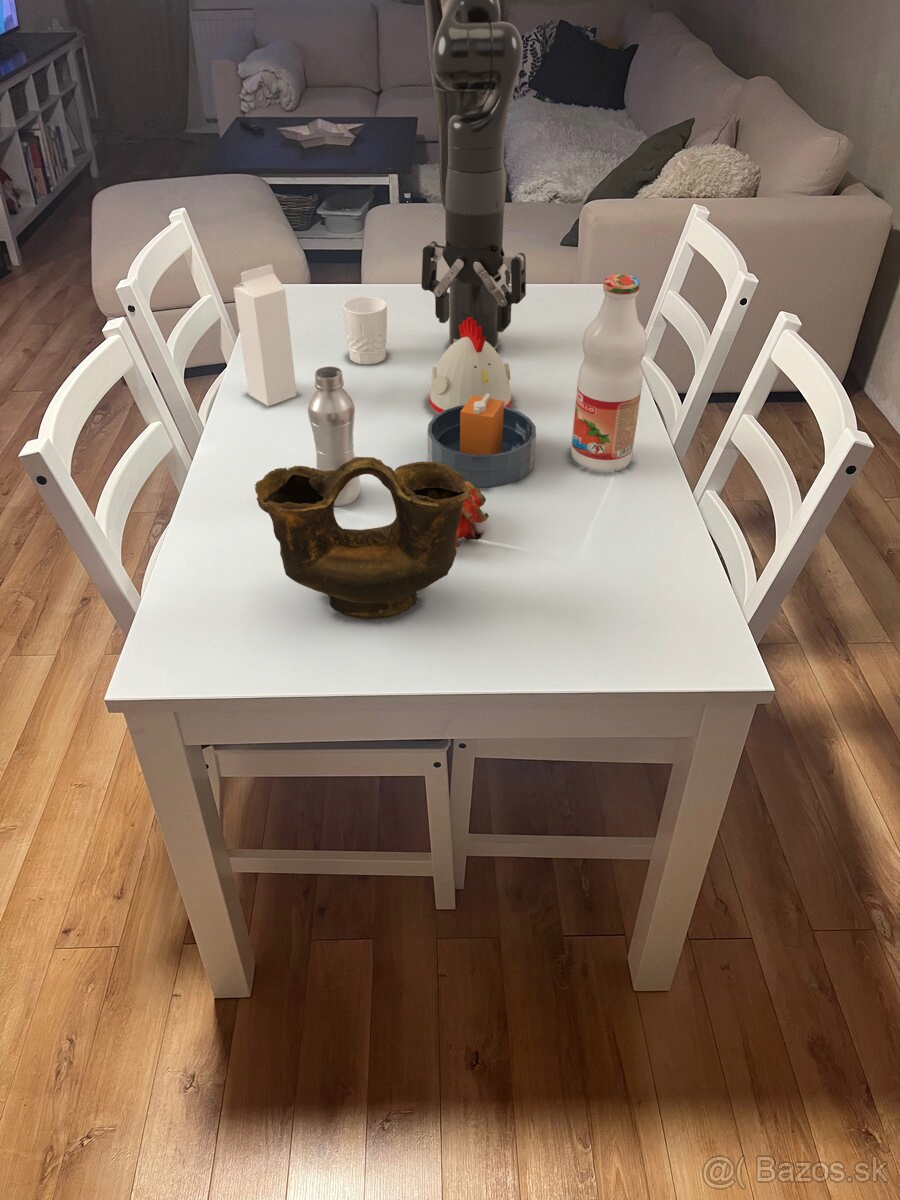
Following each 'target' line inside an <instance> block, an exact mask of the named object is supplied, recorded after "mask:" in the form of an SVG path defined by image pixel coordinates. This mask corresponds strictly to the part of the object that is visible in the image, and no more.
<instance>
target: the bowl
mask: <svg viewBox="0 0 900 1200" xmlns="http://www.w3.org/2000/svg"><path fill="white" fill-rule="evenodd" d="M464 406H465V405H461V406H457V407H453V408H450V409H447V410H444V411H443V412H441V413H439V412H438V414H436V415H434V416H433V417H432V419H431V420H430V421H429V422H428V424H427V425H428V426H427V462H439V463H441V464H445V465H447V466H448V467H449V468H451V469H452V470H454V471H456V472H458V473H459V474H460V475H461V476H464V477H465V479H464V480H465V481H469V482H471V483H472V484H473V486H475V487H477V488H493V487H494V488H495V487H500V486H505V485H509V484H512V483H514V482H517V481H519V480H521V479H523V478H524V477H525V476H527V475H529V473H530V472H531V470H532V469H533V467H534V465H535V456H536V455H535V454H536V442H537V426H536V425H535V423H534V422H533V421H532V419H531V418H530V417H529V416H527V415H525V414H524V413H522V412H521V411H519V410H516V409H513V408H510V407H509V408H508V407H504V414H503V436H502V453H498V454H491V455H483V454H469V453H464V452H460V412H461V410H462V409H463V408H464Z"/></svg>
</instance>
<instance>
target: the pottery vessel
mask: <svg viewBox="0 0 900 1200" xmlns="http://www.w3.org/2000/svg"><path fill="white" fill-rule="evenodd" d="M363 475H371V476H373V477H375V478H377V479H378V480H379V481H380V482H381V484H382V485H383V486H384V487H385V488H386V489H387V490H389V492H390V495H391V498H392V501H393V505H394V508H395V519H394V520H393V521H392V522H391V523H390V524H388V525H385V526H379V527H372V528H364V529H355V528H343V527H341V525H339V524H338V521H337V519H336V517H335V510H334V509H335V506H334V502H335V500H336V499H337V497H338V495H339V493H340V492H341V491H342V490H343V488H344V487H345V486H346V484H347V483H348V482H349V481H350V480H351V479H353V478H355V477H358V476H359V477H360V476H363ZM464 479H465V477H464V476H461V475H460V474H459V473H458V472H456V471H454V470H452V469H451V468H449V467H448V466H447V465H445V464H441V463H439V462H428V461H416V462H410V463H407V464H403V465H399V466H398V467H396V468H395V469H393V468H392V467H391V466H388V465H386V464H385V463H384V462H383V461H382V459H377V458H375V457H374V456H373V457H372V456H355V458H353V459H351V460H350V461H348V462H346V463H344V464H342V465H341V466H340V467H339V468H338V469H337V470H331V471H322V470H318V469H317V468H315V467H310V466H307V465H306V466H305V465H294V466H291V467H284V468H282V467H279V468H274V469H273V470H270V471H268V473H267V474H264V476H263V478H262V479H260V480H257V481H256V483H255V484H254V490H255V493H256V498H255V499H256V501H257V504H258V507H259V508H260V509H261V510H262V511H264V512H265V513H267V514H268V515H269V517H270V519H271V522H272V527H273V528H272V529H273V534H274V537H275V539H276V540H277V542H278V543H279V546H280V548H279V549H280V551H279V555H280V557H281V561H282V564H283V565H282V566H283V570H284V574H285V575H286V576H287V578H288V579H290V580H292V581H293V582H295V583H297V584H298V585H301V586H303V587H305V588H307V589H311V590H313V591H316V592H318V593H322V594H325V595H326V596H328V599H329V602H328V603H329V606H330V607H331V609H332V610H333V611H335V612H338V613H340V614H341V615H343V616H345V617H350V618H352V619H359V620H378V619H380V620H381V619H389V618H394V617H397V616H398V615H400V614H402V613H404V612H406V611H409V610H410V609H411V608H412V607H414V606H416V605H417V604H418V600H419V596H418V592H419V591H422V590H425V589H426V588H428V587H430V586H431V585H433V584H434V583H436V582H438V581H439V580H441V579H442V578H444V577H446V576H448V574H449V572H450V571H451V569H452V567H453V565H454V562H455V559H456V556H457V548H456V547H455V538H456V533H457V529H458V525H459V521H460V518H461V516H462V515H461V510H462V506H463V503H464V501H465V499H466V498H468V497H469V496H468V495H469V493H470V491H471V489H470V488H469V486H467V485H466V484H465V481H464Z"/></svg>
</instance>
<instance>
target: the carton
mask: <svg viewBox="0 0 900 1200" xmlns="http://www.w3.org/2000/svg"><path fill="white" fill-rule="evenodd" d="M503 414H504V401H502V400H496V399H490V394H486V395H485V396H484V397H478V396H472V397H471V398H470V400H469V401H468V402H467V404H466V405H465V406H464V408H463V409H462V410H461V412H460V452H464V453H469V454H483V455H491V454H498V453H502V436H503Z"/></svg>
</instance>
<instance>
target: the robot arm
mask: <svg viewBox="0 0 900 1200" xmlns="http://www.w3.org/2000/svg"><path fill="white" fill-rule="evenodd" d="M423 5H424V8H423V9H424V17H425V28H426V29H425V31H426V43H427V56H428V65H429V73H430V74H429V75H430V82H431V89H432V95H433V102H434V103H433V104H434V110H435V119H436V128H437V144H438V164H439V165H438V166H439V169H438V170H439V189H440V199H441V203H442V206H443V209H444V211H445V245H440V244H438V243H437V241H435V240H433V241H431V242H429V243H428V244H426V245H425V246H424V247H423V249H422V259H421V260H422V262H421V284H420V285H421V288H422V290H423V291H429V292H431V293H433V295H434V300H435V301H434V302H435V307H434V308H435V316H436V319H438V323H440V324H446V323H447V321H448V322H449V323H448V324H449V326H448V327H449V329H448V332H449V333H448V335H449V336H448V348H449V347H450V346H451V345H452V344H453V343H454V342H456V341H457V340H459V339H461V336H460V329H459V324H463V321H465V320H467V318H469V317H473V321H477V327H478V326H482V337H485V341H486V342H488V343H489V344H490V345H491V346H492V347H493V348H494V349H495V351H496V352H497V351H498V350H499V342H500V341H499V333H503V332H504V331H505V330H506V329H507V328H508V327H509V326H510V324H511V323H512V305H513V304H515V305H517V304H518V305H519V303H521V301H522V300H523V299H524V298H525V297H526V295H527V266H526V265H527V262H526V261H527V259H526V258H527V256H526V255H525V253H524V252H518V253H517V254H505V252H504V249H503V240H504V217H505V216H504V215H505V204H506V194H507V172H506V171H507V170H506V167H505V165H504V162H505V161H504V160H505V159H504V158H505V138H506V137H505V135H506V134H505V133H506V125H507V119H508V114H509V110H510V106H511V102H512V98H513V96H514V92H515V88H516V85H517V82H518V79H519V75H520V72H521V69H522V68H521V67H522V65H523V57H524V45H523V41H522V37H521V35H520V32H519V31H518V29H517V28H516V26H514V25H513V24H512V23H510V22H508V21H507V22H506V21H501V7H500V6H501V5H500V0H423ZM441 258H443V259H444V261H445V263H446V265H447V266H448V268H449V269H448V270H447V272H446V273H445V274H444V276H443V277H442V278H441V279H440V281H439V280H438V279H437V273H438V262H439V261H440V260H441ZM503 265H505V266H506V269H505V270H504V274H503V273H502V271H501V270H502V269H501V268H502V266H503ZM510 283H511V284H510ZM509 285H511V287H509ZM510 288H511V289H510ZM448 290H449V292H448Z"/></svg>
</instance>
